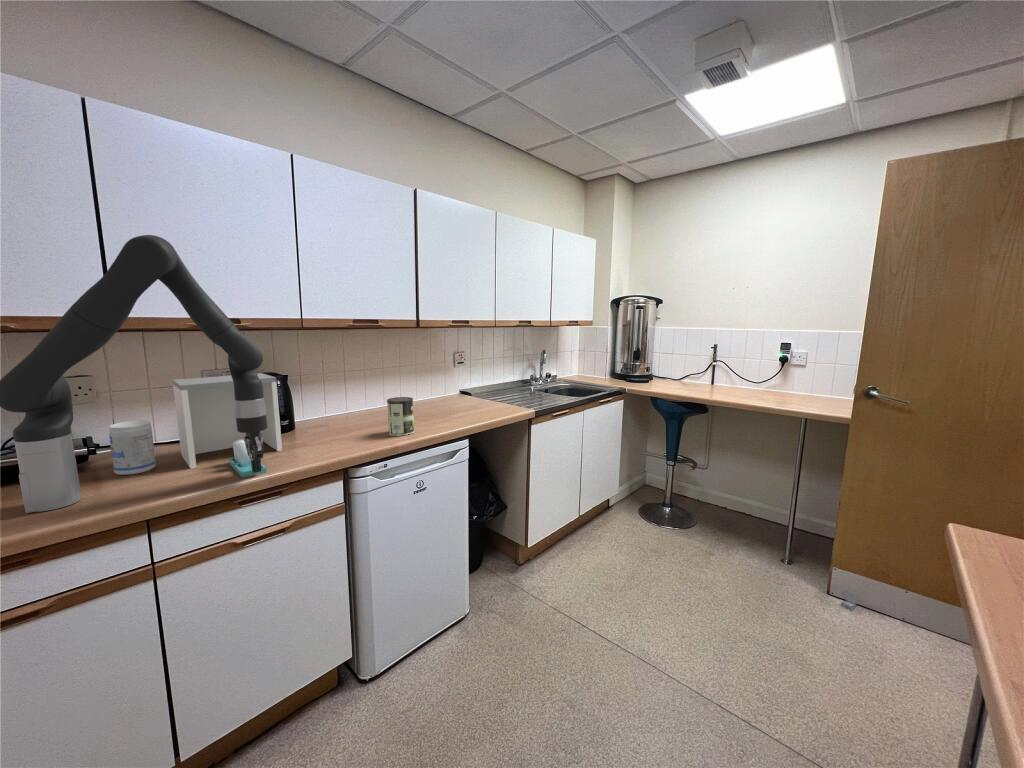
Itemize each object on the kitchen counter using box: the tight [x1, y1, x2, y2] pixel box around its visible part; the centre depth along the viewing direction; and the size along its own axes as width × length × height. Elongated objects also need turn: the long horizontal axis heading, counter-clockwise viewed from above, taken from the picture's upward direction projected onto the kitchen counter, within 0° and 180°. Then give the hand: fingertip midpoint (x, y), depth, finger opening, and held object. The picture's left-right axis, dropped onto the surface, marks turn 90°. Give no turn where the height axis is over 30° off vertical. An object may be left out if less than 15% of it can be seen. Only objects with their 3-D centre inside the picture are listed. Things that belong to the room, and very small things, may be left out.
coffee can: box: [386, 396, 415, 437], centre depth 169 cm, size 10×10×14 cm
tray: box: [228, 439, 268, 478], centre depth 129 cm, size 18×6×8 cm, turn 44°
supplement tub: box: [108, 420, 156, 476], centre depth 126 cm, size 10×10×15 cm
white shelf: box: [172, 372, 283, 469], centre depth 142 cm, size 26×18×26 cm
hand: (256, 471), depth 122 cm, fingers closed
